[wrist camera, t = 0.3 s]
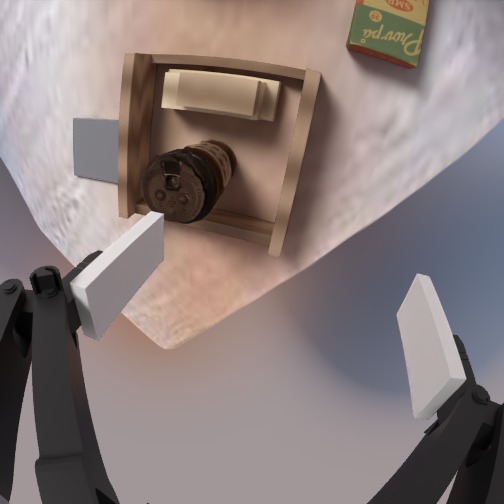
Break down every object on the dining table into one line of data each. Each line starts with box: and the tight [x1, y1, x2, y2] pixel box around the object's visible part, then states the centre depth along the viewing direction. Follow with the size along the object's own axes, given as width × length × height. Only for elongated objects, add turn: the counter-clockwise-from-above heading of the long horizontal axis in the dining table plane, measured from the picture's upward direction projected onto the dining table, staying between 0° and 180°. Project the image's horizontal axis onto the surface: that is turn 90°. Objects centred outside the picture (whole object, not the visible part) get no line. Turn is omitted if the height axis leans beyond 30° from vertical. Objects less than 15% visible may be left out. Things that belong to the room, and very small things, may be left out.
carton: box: [346, 0, 429, 69], centre depth 24 cm, size 8×16×4 cm, turn 169°
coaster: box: [73, 118, 119, 183], centre depth 43 cm, size 10×10×1 cm
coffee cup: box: [141, 139, 236, 224], centre depth 35 cm, size 9×8×13 cm
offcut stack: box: [161, 69, 281, 121], centre depth 33 cm, size 5×14×6 cm, turn 80°
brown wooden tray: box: [118, 53, 321, 257], centre depth 37 cm, size 22×23×6 cm
